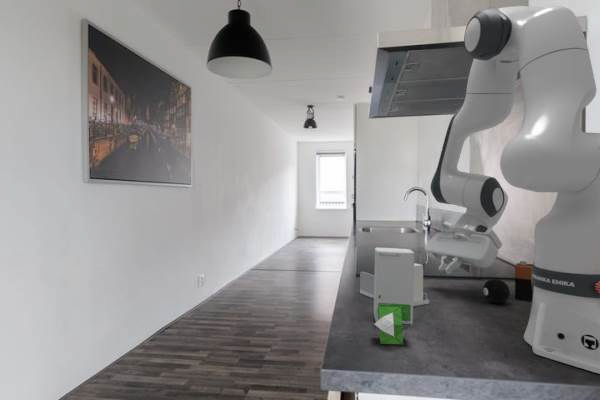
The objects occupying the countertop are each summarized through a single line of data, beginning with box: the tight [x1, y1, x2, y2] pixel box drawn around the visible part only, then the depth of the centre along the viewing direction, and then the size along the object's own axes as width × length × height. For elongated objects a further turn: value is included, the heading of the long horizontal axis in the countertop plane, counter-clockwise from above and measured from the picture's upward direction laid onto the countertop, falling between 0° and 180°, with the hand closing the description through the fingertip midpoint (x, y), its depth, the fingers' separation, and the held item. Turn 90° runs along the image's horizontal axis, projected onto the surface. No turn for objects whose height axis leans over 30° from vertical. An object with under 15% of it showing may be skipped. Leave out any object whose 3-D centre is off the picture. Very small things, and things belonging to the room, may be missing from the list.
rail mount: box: [359, 271, 430, 307], centre depth 99 cm, size 16×10×6 cm, turn 26°
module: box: [413, 262, 424, 302], centre depth 93 cm, size 4×6×10 cm, turn 116°
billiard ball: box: [482, 278, 511, 304], centre depth 94 cm, size 6×6×6 cm
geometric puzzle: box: [371, 306, 412, 346], centre depth 69 cm, size 7×7×8 cm
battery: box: [514, 260, 534, 302], centre depth 97 cm, size 4×7×10 cm, turn 53°
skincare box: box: [373, 247, 415, 325], centre depth 82 cm, size 8×7×16 cm
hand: (443, 271), depth 99 cm, fingers closed
